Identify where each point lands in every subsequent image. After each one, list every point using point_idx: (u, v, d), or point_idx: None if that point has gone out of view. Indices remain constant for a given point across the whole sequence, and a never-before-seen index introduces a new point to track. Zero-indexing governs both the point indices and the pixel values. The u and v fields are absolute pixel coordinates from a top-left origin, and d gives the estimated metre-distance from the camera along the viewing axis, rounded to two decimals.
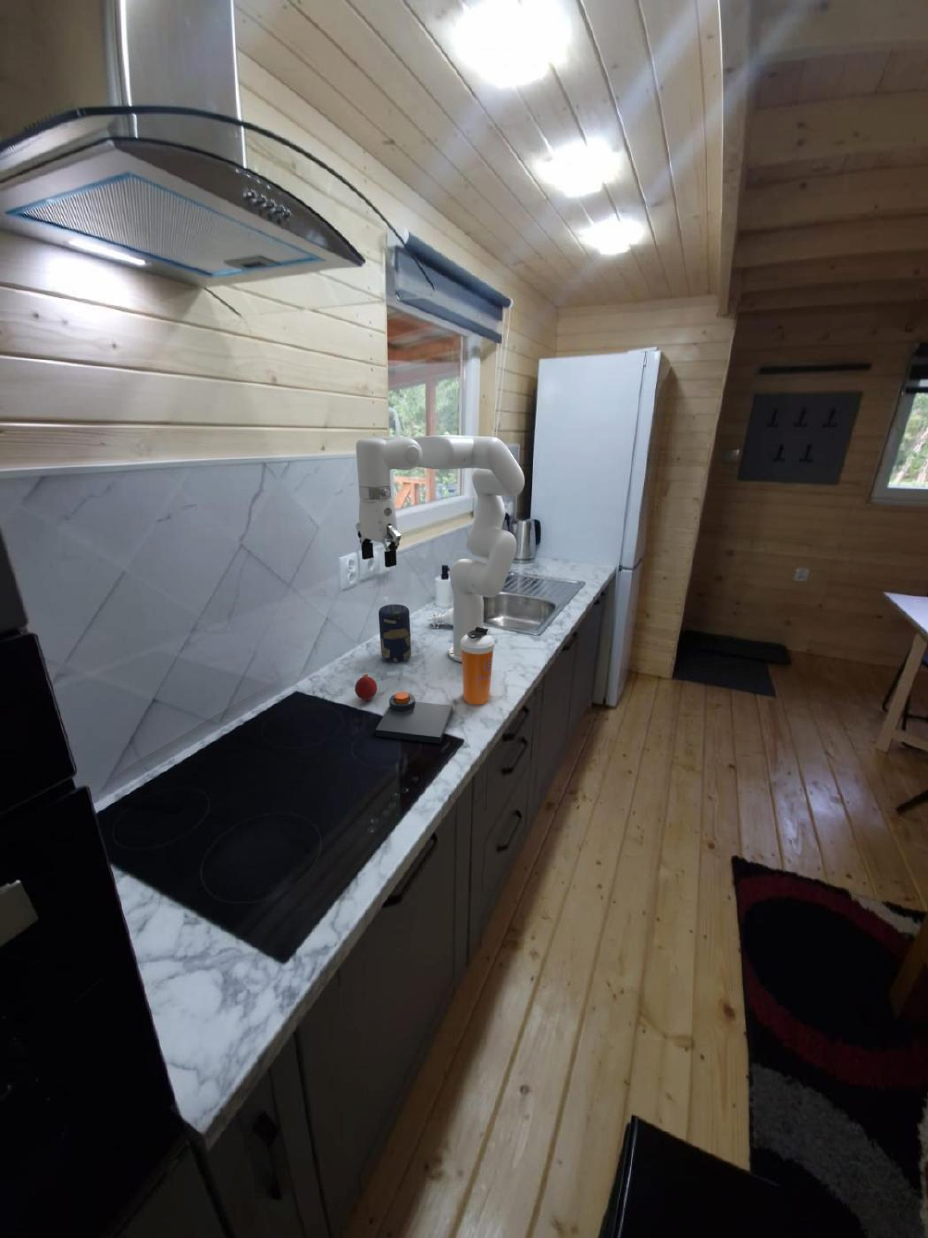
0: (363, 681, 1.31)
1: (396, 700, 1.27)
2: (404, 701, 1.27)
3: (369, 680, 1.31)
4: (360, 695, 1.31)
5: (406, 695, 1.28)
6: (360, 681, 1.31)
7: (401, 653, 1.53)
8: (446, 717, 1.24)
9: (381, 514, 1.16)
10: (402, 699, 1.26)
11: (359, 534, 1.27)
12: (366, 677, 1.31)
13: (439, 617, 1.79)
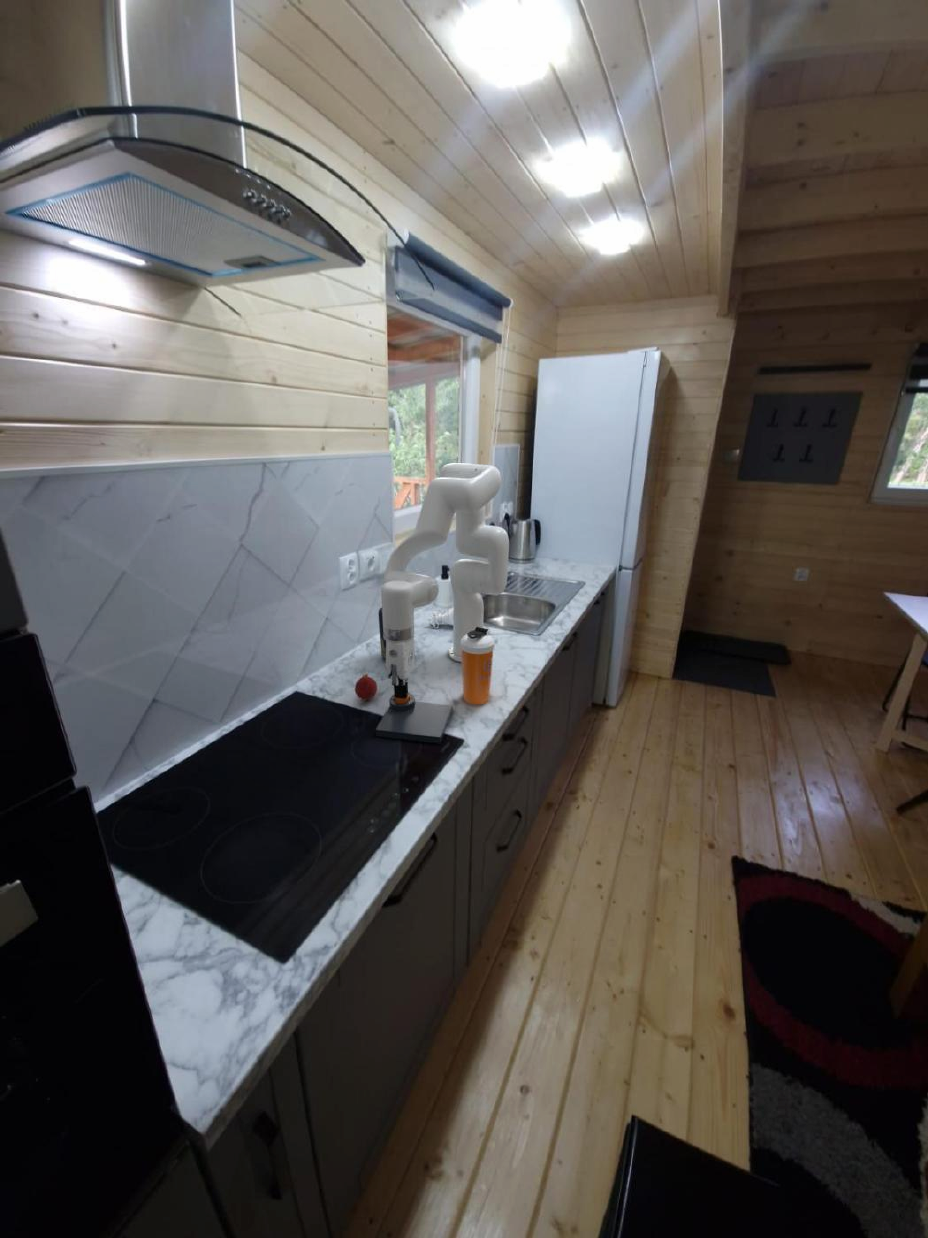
0: (363, 681, 1.31)
1: (396, 701, 1.27)
2: (404, 702, 1.27)
3: (369, 680, 1.31)
4: (360, 695, 1.31)
5: None
6: (360, 681, 1.31)
7: None
8: (446, 717, 1.24)
9: (386, 654, 1.19)
10: (402, 700, 1.27)
11: None
12: (366, 677, 1.31)
13: (439, 617, 1.79)
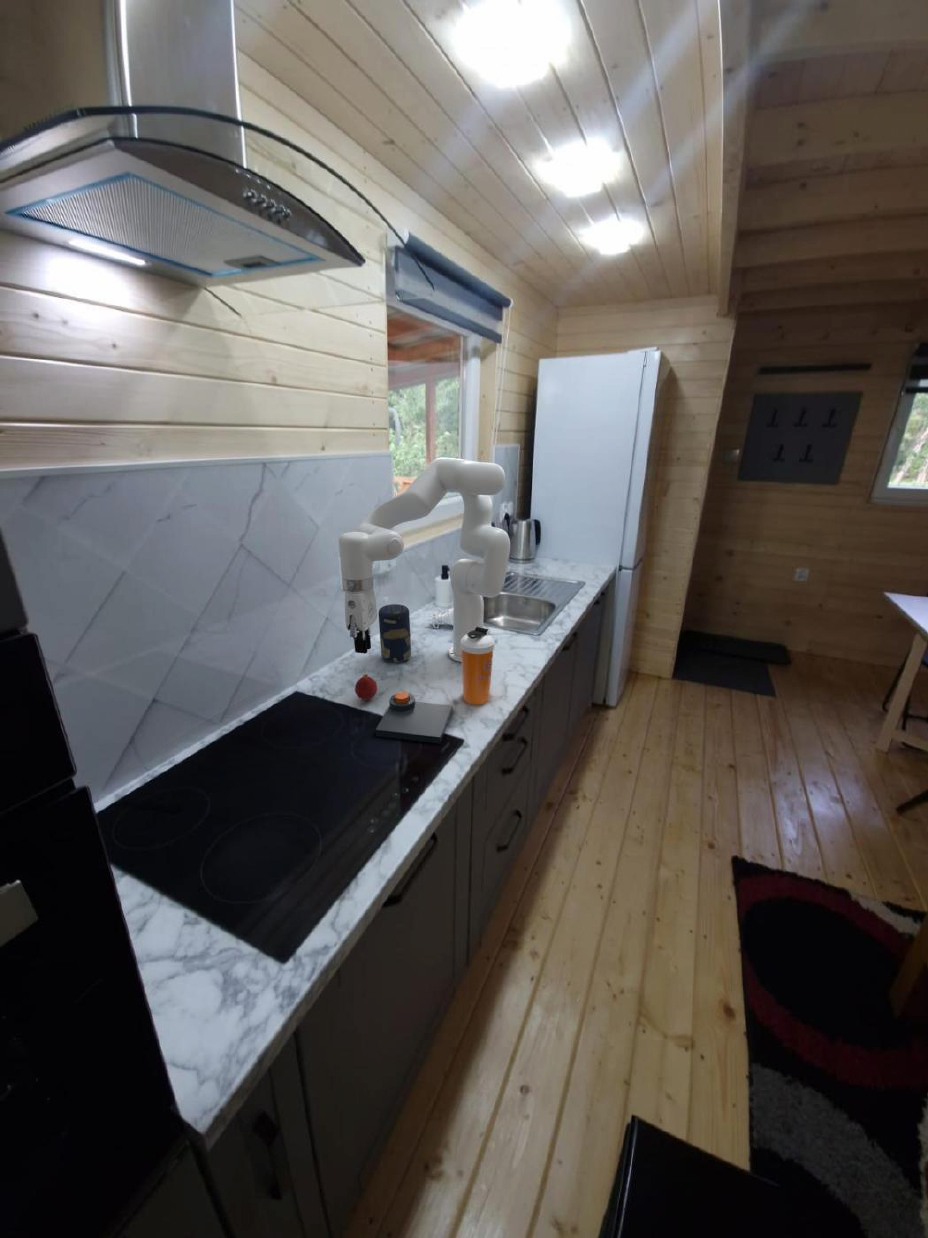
0: (363, 681, 1.31)
1: (396, 700, 1.27)
2: (404, 701, 1.27)
3: (369, 680, 1.31)
4: (360, 695, 1.31)
5: (406, 695, 1.28)
6: (360, 681, 1.31)
7: (401, 653, 1.53)
8: (446, 717, 1.24)
9: (345, 605, 1.19)
10: (402, 699, 1.26)
11: None
12: (366, 677, 1.31)
13: (439, 617, 1.79)
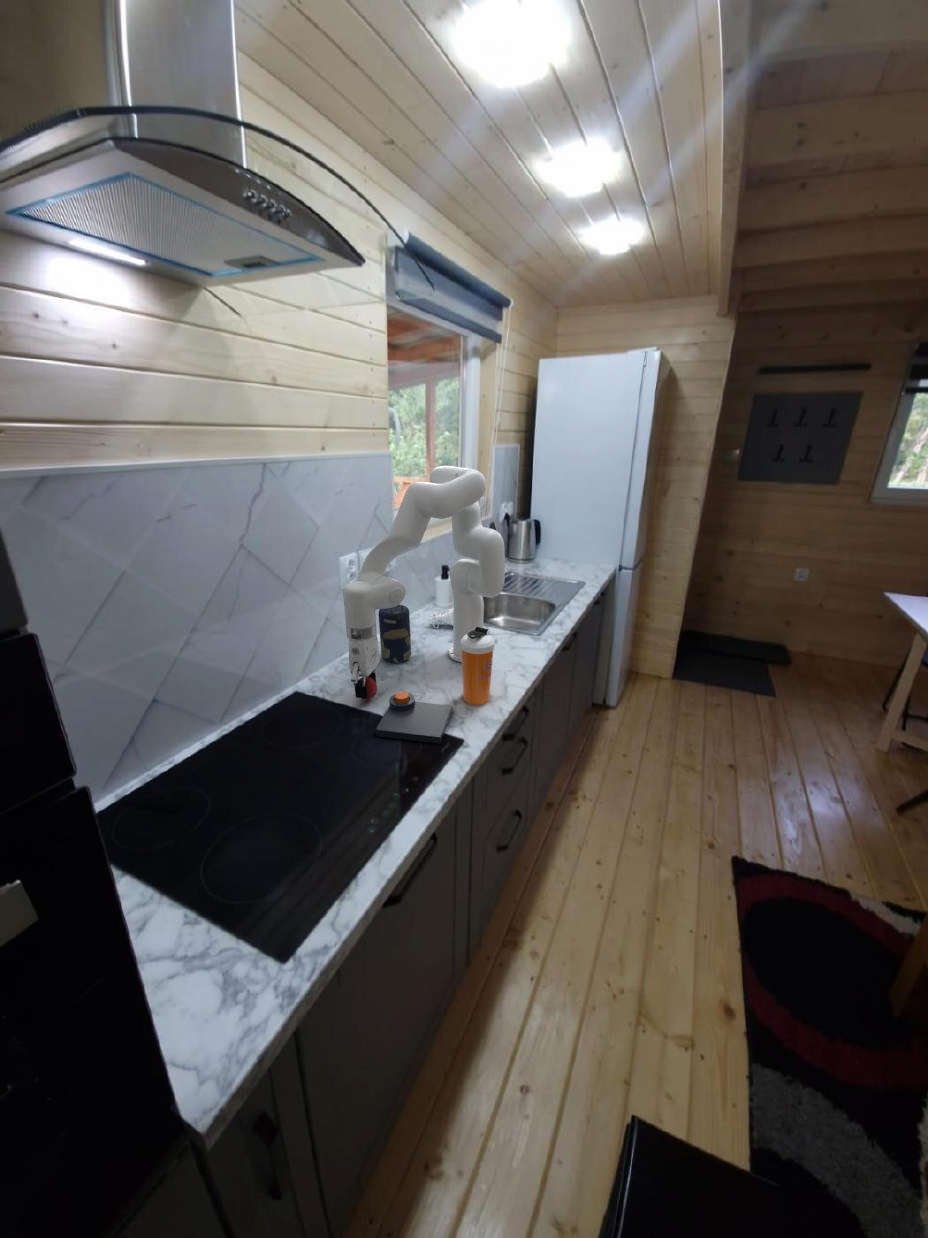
0: None
1: (396, 700, 1.27)
2: (404, 701, 1.27)
3: (369, 680, 1.31)
4: None
5: (406, 695, 1.28)
6: None
7: (401, 653, 1.53)
8: (446, 717, 1.24)
9: (349, 652, 1.24)
10: (402, 699, 1.26)
11: None
12: (366, 677, 1.31)
13: (439, 617, 1.79)
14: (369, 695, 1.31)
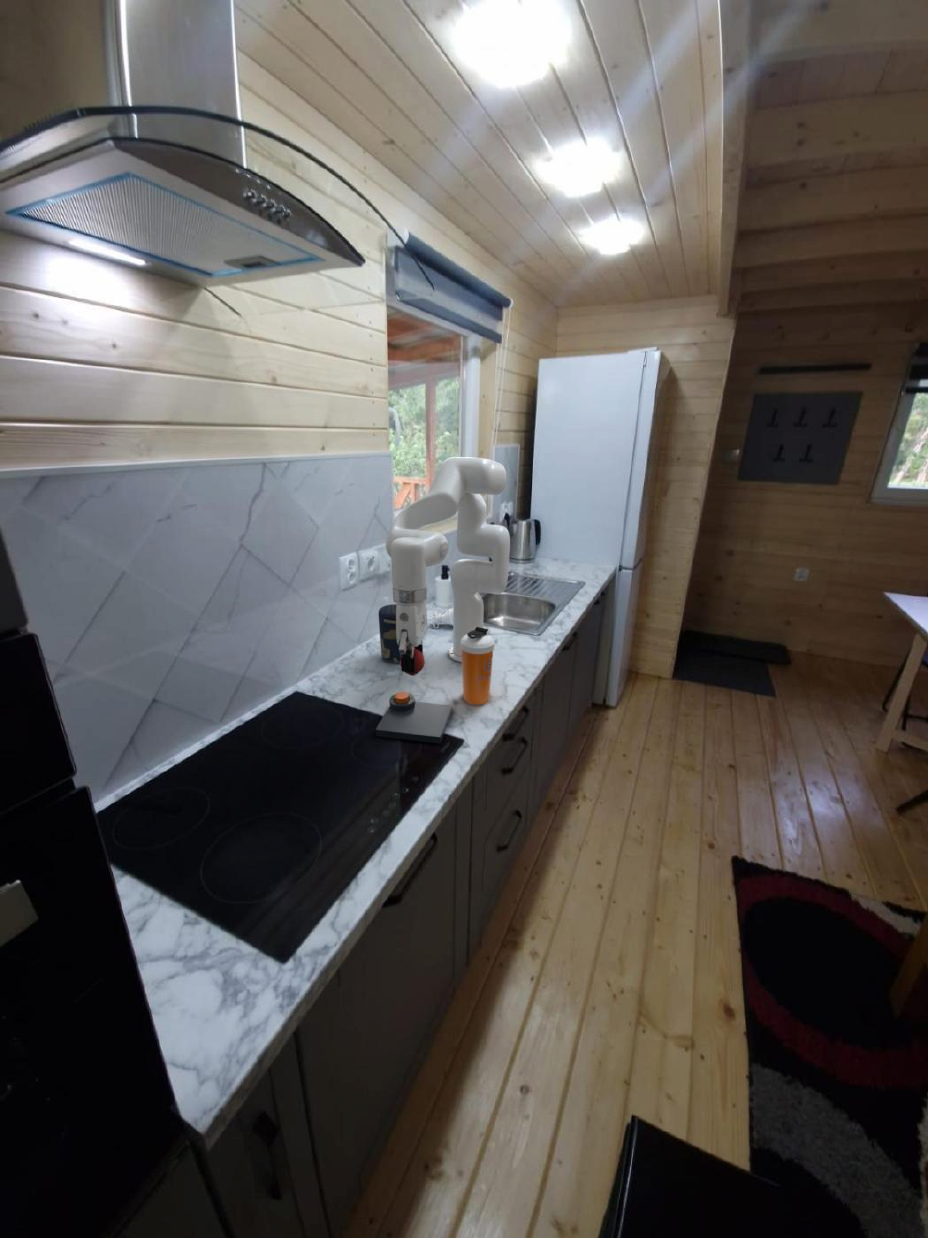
0: None
1: (396, 700, 1.27)
2: (404, 701, 1.27)
3: (416, 652, 1.15)
4: None
5: (406, 695, 1.28)
6: None
7: None
8: (446, 717, 1.24)
9: (397, 618, 1.08)
10: (402, 699, 1.26)
11: None
12: None
13: (439, 617, 1.79)
14: (417, 669, 1.15)
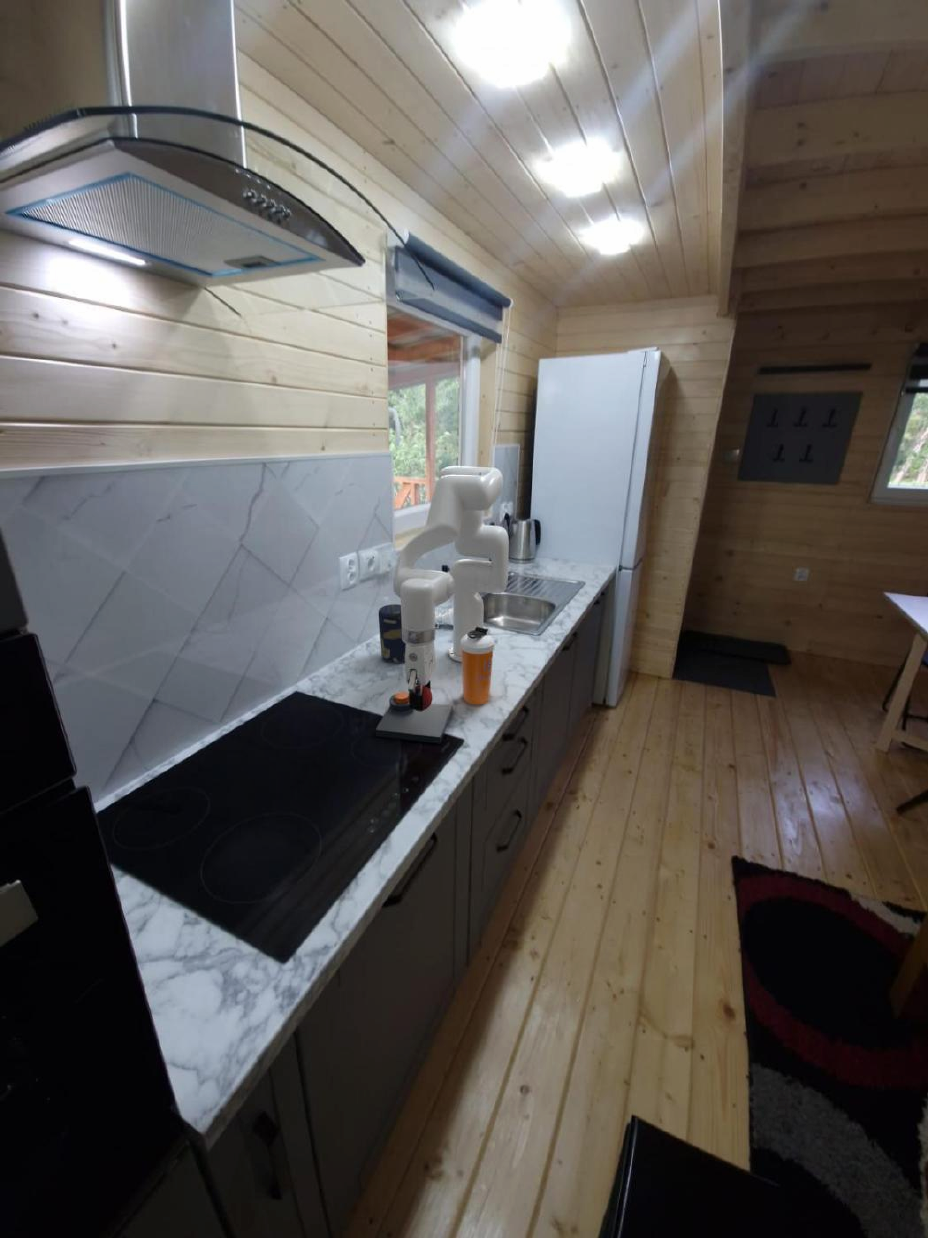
0: None
1: (396, 700, 1.27)
2: (404, 701, 1.27)
3: (424, 689, 1.17)
4: None
5: (406, 695, 1.28)
6: None
7: (401, 653, 1.53)
8: (446, 717, 1.24)
9: (406, 657, 1.10)
10: (402, 699, 1.26)
11: None
12: None
13: (439, 617, 1.79)
14: (425, 706, 1.17)
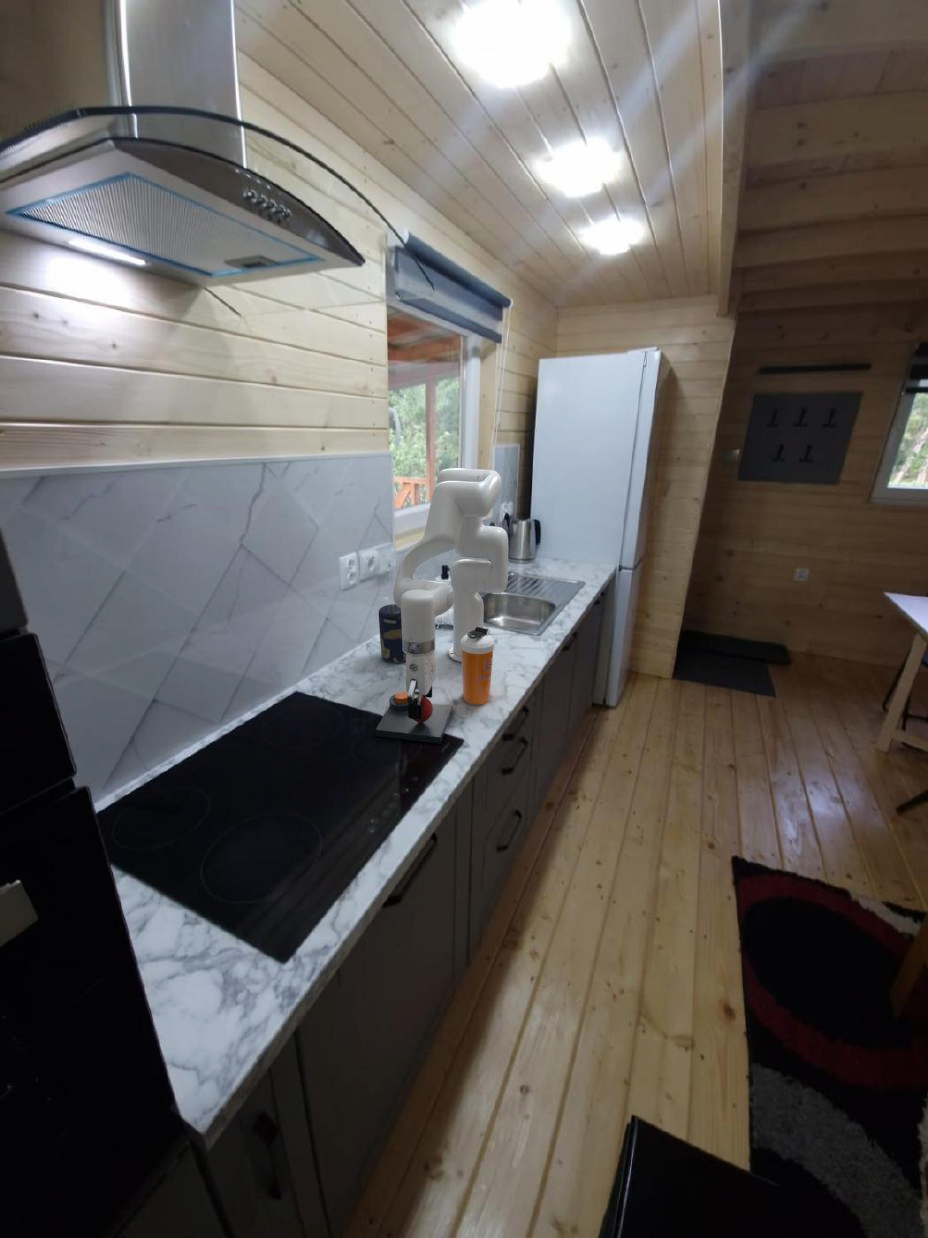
0: None
1: (396, 700, 1.27)
2: (404, 701, 1.27)
3: (425, 700, 1.18)
4: None
5: (406, 695, 1.28)
6: None
7: (401, 653, 1.53)
8: (446, 717, 1.24)
9: (406, 668, 1.11)
10: (402, 699, 1.26)
11: None
12: (422, 697, 1.18)
13: (439, 617, 1.79)
14: (425, 717, 1.18)
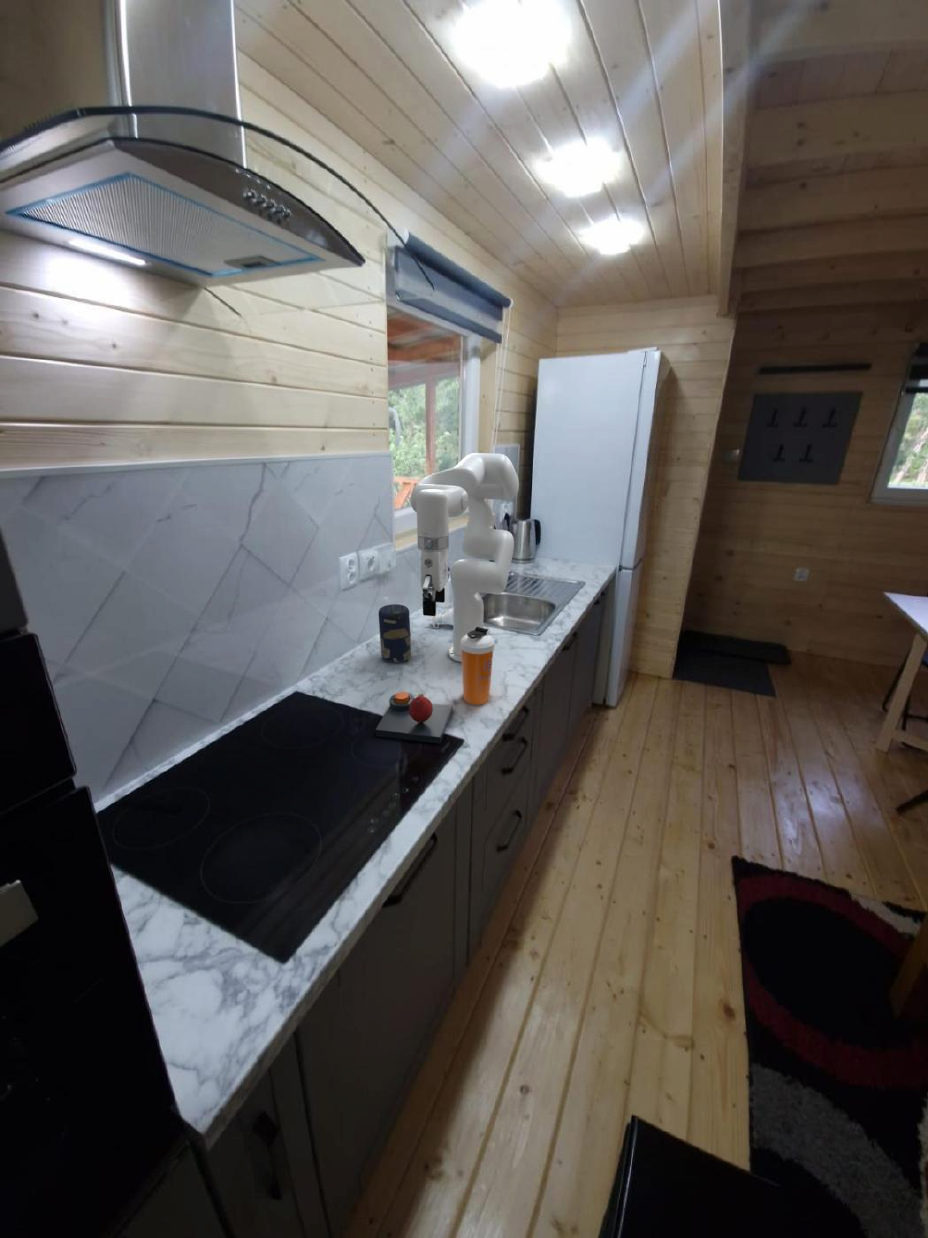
0: (419, 702, 1.18)
1: (396, 700, 1.27)
2: (404, 701, 1.27)
3: (425, 700, 1.18)
4: (415, 717, 1.18)
5: (406, 695, 1.28)
6: (415, 702, 1.18)
7: (401, 653, 1.53)
8: (446, 717, 1.24)
9: (421, 564, 1.17)
10: (402, 699, 1.26)
11: None
12: (422, 697, 1.18)
13: (439, 617, 1.79)
14: (425, 717, 1.18)
